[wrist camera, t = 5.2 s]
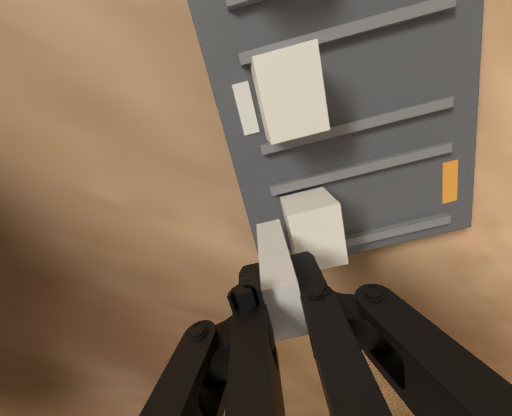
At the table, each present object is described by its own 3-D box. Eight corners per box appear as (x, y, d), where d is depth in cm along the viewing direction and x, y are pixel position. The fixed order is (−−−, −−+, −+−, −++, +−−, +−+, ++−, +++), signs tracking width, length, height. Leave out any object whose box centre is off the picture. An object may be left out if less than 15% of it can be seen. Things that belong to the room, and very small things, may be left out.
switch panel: (262, 257, 22) (264, 278, 19) (161, -109, 14) (139, -166, 11) (446, 214, 21) (477, 230, 19) (454, -202, 13) (512, -290, 10)
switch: (290, 246, 19) (300, 274, 16) (279, 197, 17) (287, 216, 14) (330, 237, 19) (348, 264, 15) (322, 186, 17) (340, 203, 14)
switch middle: (266, 138, 16) (271, 144, 13) (250, 69, 15) (251, 56, 11) (312, 126, 16) (330, 129, 13) (301, 55, 15) (317, 38, 11)
